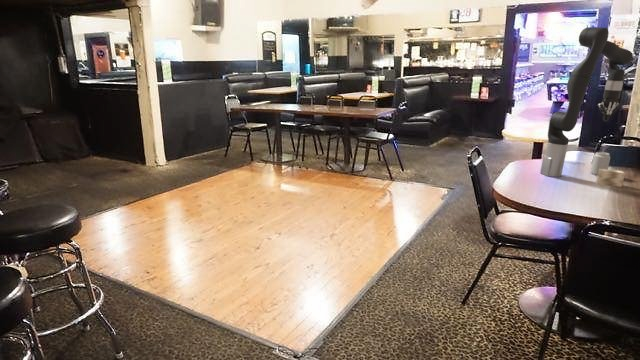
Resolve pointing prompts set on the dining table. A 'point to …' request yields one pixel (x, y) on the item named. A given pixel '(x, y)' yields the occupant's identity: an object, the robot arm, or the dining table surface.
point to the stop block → (610, 177)
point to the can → (600, 162)
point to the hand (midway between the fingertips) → (605, 121)
